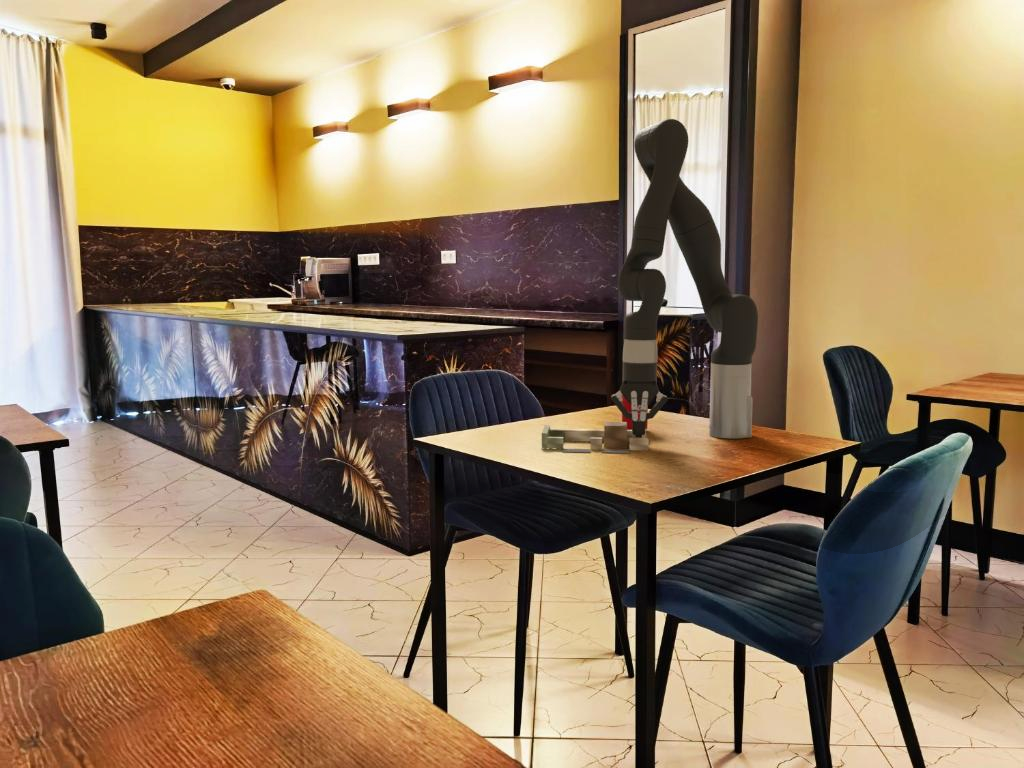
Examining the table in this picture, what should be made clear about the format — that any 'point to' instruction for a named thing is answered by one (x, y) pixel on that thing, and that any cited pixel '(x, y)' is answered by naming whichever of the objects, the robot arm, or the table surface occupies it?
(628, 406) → the beverage can
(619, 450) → the trap pads
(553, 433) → the lane
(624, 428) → the block
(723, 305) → the robot arm
